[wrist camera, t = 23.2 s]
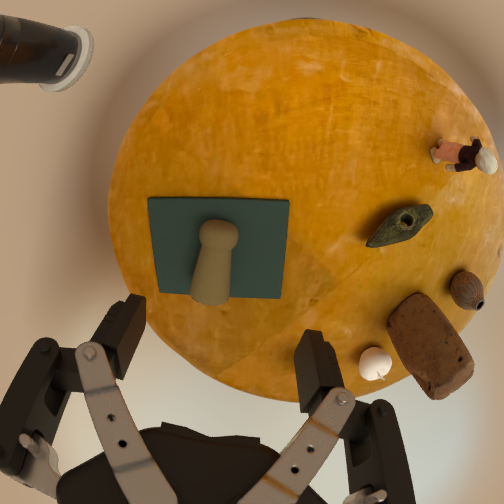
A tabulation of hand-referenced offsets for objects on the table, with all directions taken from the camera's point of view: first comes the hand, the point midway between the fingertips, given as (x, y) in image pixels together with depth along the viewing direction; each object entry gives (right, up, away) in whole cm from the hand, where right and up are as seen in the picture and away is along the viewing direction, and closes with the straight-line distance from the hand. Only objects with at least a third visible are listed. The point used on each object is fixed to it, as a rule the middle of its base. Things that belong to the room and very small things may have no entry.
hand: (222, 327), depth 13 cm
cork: (-5, -3, +27) cm, 27 cm away
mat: (-4, +4, +28) cm, 29 cm away
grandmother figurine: (+31, +20, +20) cm, 42 cm away
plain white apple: (+26, -18, +38) cm, 50 cm away
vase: (+43, -2, +30) cm, 53 cm away
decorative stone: (+23, +9, +26) cm, 36 cm away
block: (+32, -8, +34) cm, 47 cm away
